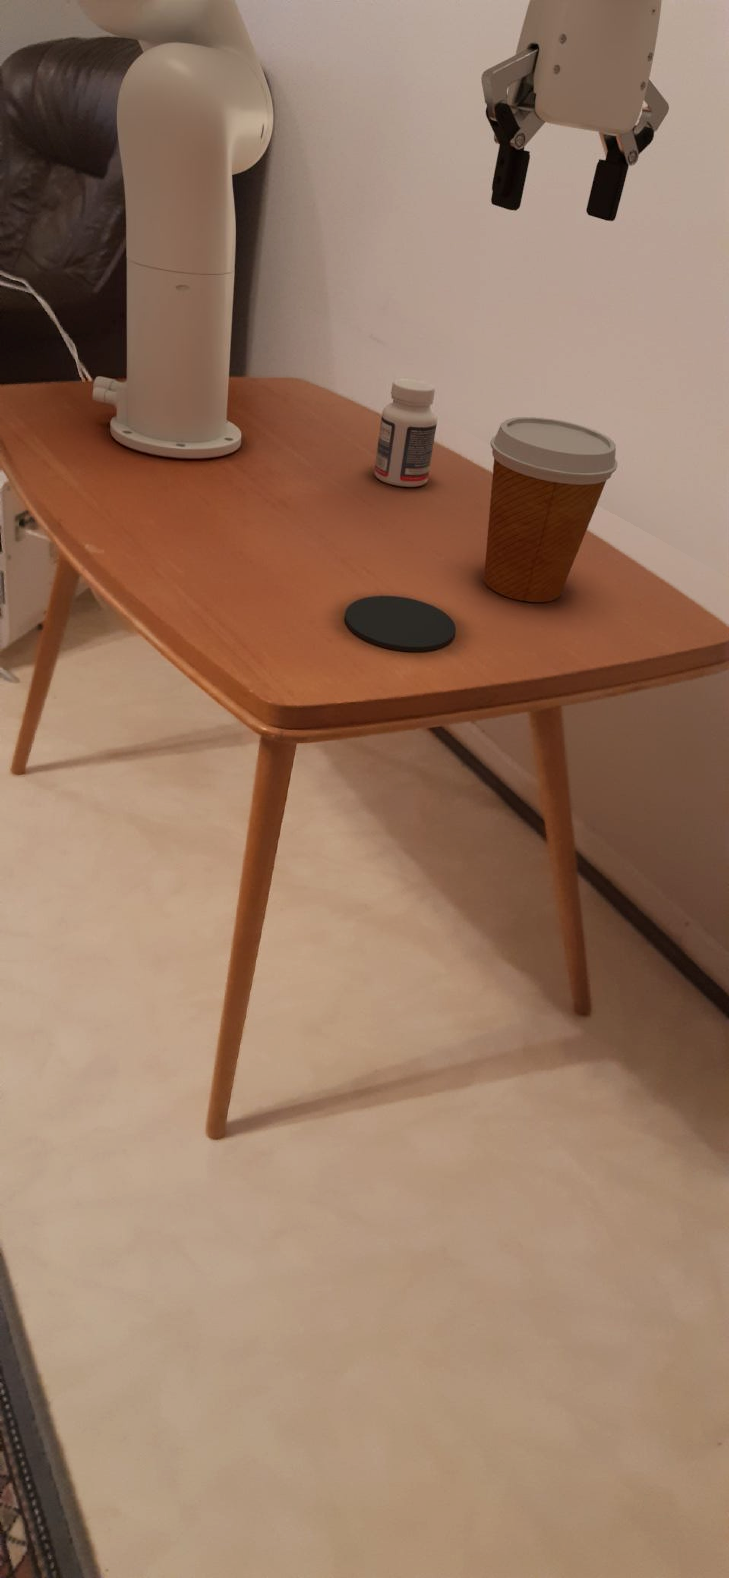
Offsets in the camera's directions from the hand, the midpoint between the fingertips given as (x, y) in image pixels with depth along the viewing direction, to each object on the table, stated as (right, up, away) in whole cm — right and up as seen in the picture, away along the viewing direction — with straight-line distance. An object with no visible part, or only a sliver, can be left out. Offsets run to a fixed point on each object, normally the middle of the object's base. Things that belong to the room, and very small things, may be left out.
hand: (553, 213), depth 83 cm
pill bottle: (-12, -17, +17) cm, 27 cm away
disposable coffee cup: (-3, -30, 0) cm, 31 cm away
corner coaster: (-13, -35, -9) cm, 38 cm away
